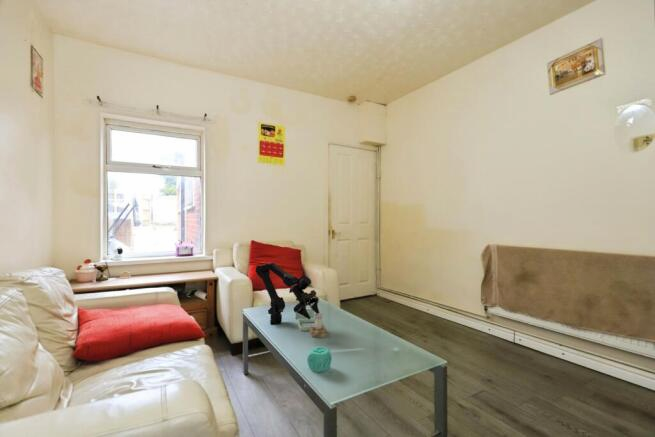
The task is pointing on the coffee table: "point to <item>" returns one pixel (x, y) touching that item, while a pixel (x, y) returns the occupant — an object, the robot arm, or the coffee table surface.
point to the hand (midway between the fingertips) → (314, 316)
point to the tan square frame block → (318, 332)
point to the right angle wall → (299, 316)
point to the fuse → (318, 321)
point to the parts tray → (304, 322)
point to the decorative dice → (319, 359)
